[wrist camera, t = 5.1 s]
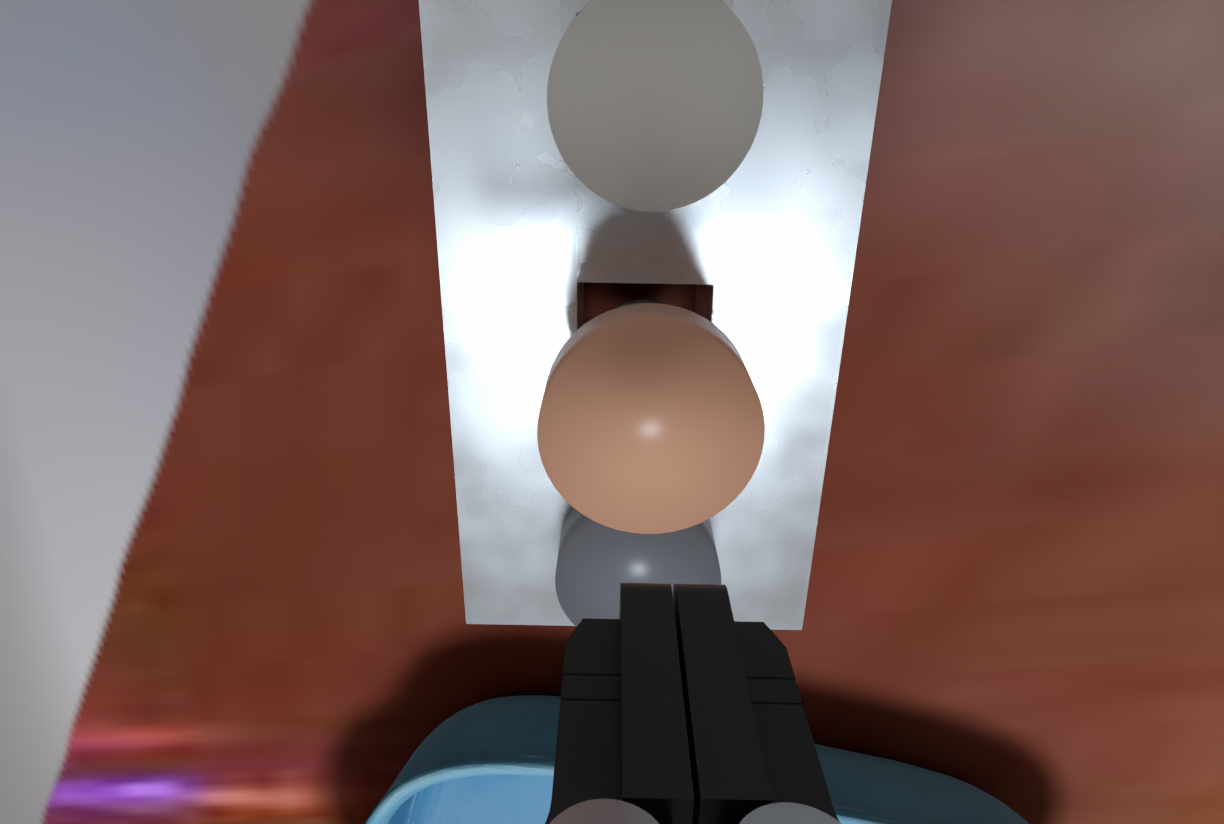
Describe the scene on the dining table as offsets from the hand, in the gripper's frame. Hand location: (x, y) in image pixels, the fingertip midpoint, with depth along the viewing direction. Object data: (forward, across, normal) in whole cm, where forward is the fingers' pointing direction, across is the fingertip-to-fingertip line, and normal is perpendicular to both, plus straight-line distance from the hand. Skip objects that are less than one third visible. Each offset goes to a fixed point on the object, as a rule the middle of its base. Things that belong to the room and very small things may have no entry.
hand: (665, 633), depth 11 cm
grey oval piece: (+17, 0, -7) cm, 19 cm away
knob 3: (+17, 0, +7) cm, 19 cm away
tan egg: (+13, 0, 0) cm, 13 cm away
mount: (+18, 0, 0) cm, 18 cm away
